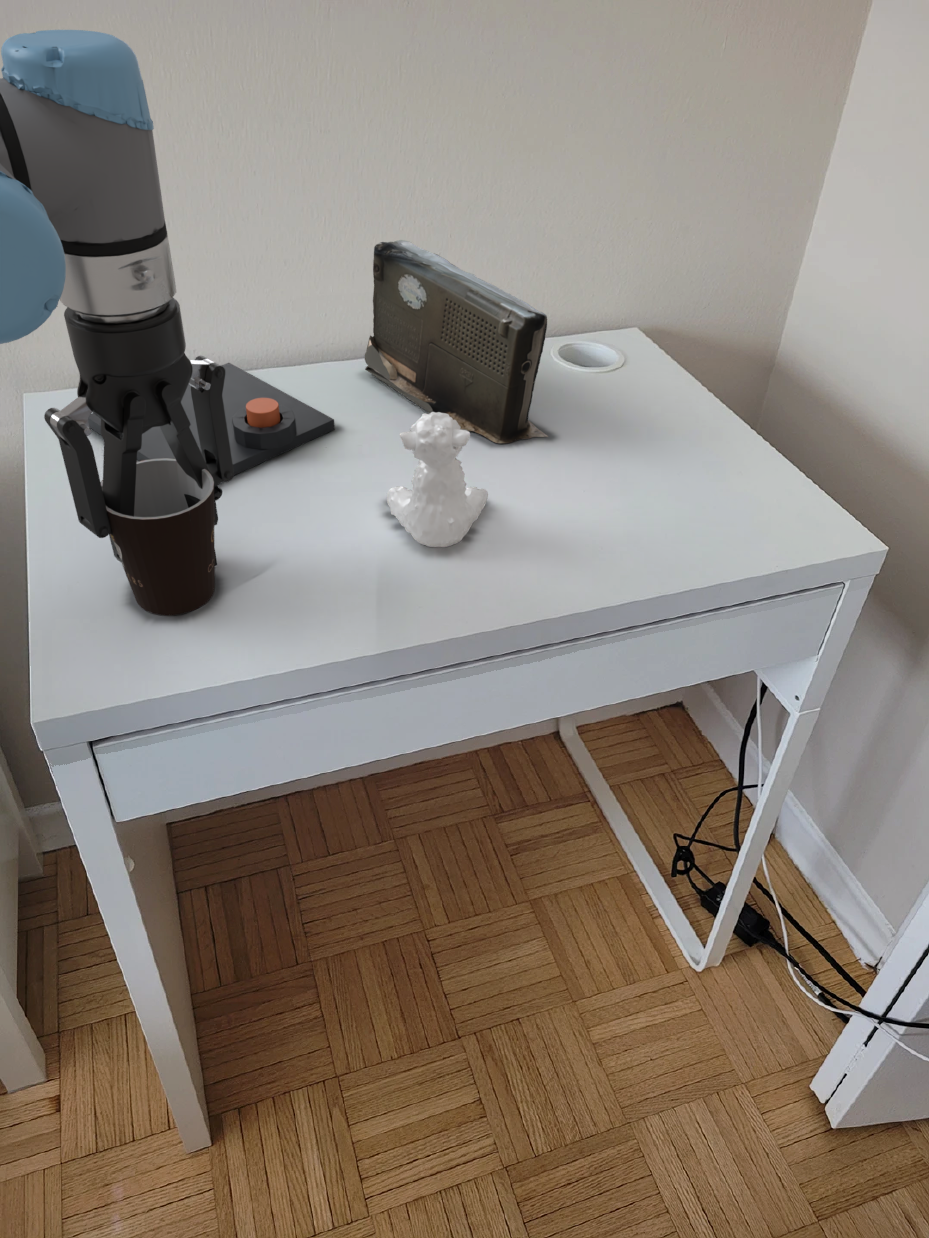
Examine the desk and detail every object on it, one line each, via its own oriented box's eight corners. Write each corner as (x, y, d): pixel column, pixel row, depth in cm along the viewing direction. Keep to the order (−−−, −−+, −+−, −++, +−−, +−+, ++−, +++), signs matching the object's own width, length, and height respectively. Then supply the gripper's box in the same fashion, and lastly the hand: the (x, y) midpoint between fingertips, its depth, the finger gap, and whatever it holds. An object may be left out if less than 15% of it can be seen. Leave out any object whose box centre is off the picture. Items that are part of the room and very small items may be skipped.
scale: (193, 498, 89) (188, 470, 87) (87, 426, 98) (80, 399, 96) (338, 431, 99) (337, 405, 97) (230, 372, 108) (226, 347, 106)
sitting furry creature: (486, 501, 90) (494, 385, 82) (494, 556, 84) (503, 436, 76) (387, 502, 90) (384, 385, 82) (386, 557, 83) (384, 435, 75)
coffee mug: (216, 627, 75) (199, 522, 69) (107, 622, 75) (80, 516, 69) (244, 542, 84) (232, 442, 78) (147, 537, 84) (126, 437, 78)
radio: (549, 436, 100) (564, 298, 90) (484, 460, 96) (492, 318, 86) (422, 354, 114) (424, 226, 104) (361, 371, 110) (356, 240, 100)
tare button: (261, 432, 93) (259, 416, 92) (241, 420, 95) (239, 404, 94) (286, 421, 95) (285, 405, 94) (266, 410, 97) (264, 394, 96)
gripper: (21, 359, 57) (101, 647, 72) (263, 284, 67) (289, 549, 82) (-38, 321, 61) (50, 602, 76) (200, 255, 71) (236, 513, 86)
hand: (175, 574), depth 79 cm, fingers open, 5 cm apart
